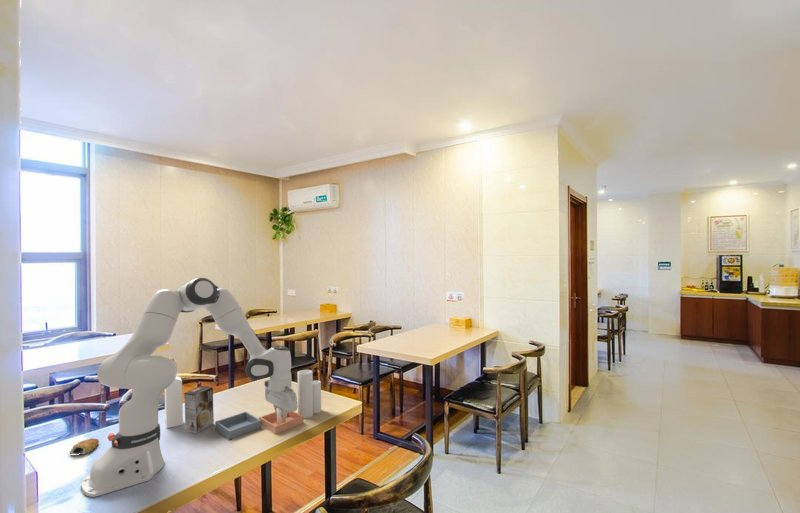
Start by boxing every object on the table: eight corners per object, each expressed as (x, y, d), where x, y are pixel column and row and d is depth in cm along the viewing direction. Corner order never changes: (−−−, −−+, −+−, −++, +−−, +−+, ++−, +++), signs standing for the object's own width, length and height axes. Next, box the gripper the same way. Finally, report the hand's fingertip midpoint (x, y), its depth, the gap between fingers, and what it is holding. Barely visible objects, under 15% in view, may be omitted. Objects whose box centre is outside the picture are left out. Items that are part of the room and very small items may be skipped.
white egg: (279, 426, 161) (279, 409, 161) (275, 423, 164) (275, 407, 164) (287, 423, 164) (287, 407, 164) (282, 421, 167) (282, 405, 166)
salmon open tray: (275, 435, 155) (275, 426, 155) (259, 425, 164) (258, 417, 163) (303, 424, 165) (303, 416, 164) (286, 415, 173) (286, 407, 173)
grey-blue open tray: (229, 440, 151) (229, 431, 151) (215, 429, 160) (215, 421, 160) (261, 428, 161) (260, 420, 161) (246, 419, 170) (245, 411, 170)
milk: (166, 428, 162) (165, 376, 161) (165, 423, 166) (163, 372, 166) (183, 424, 165) (181, 373, 165) (181, 419, 170) (179, 369, 170)
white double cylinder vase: (306, 420, 168) (305, 375, 167) (294, 417, 171) (293, 372, 171) (323, 411, 178) (322, 368, 177) (311, 408, 181) (311, 366, 181)
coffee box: (202, 421, 168) (202, 385, 167) (214, 423, 166) (213, 386, 165) (184, 431, 159) (183, 392, 159) (196, 433, 157) (195, 394, 157)
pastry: (85, 444, 149) (85, 434, 149) (104, 443, 150) (104, 433, 150) (67, 456, 140) (67, 446, 140) (87, 456, 141) (87, 445, 141)
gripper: (301, 387, 159) (301, 421, 159) (275, 377, 173) (275, 407, 173) (287, 392, 154) (287, 426, 155) (261, 380, 168) (262, 412, 168)
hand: (281, 416), depth 164 cm, fingers closed on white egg, 4 cm apart
